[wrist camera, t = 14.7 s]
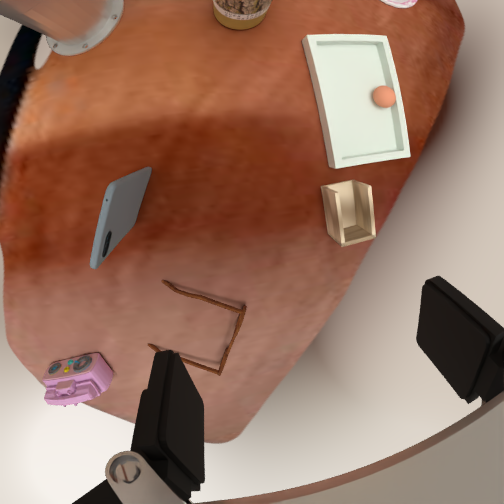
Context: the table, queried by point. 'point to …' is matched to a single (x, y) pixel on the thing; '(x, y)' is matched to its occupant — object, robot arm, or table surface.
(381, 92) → the ball
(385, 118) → the tray
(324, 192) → the beige open holder
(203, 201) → the table surface
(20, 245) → the table surface
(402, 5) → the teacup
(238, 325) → the glasses
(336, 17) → the table surface
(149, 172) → the smartphone
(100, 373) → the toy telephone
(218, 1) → the paper tube
